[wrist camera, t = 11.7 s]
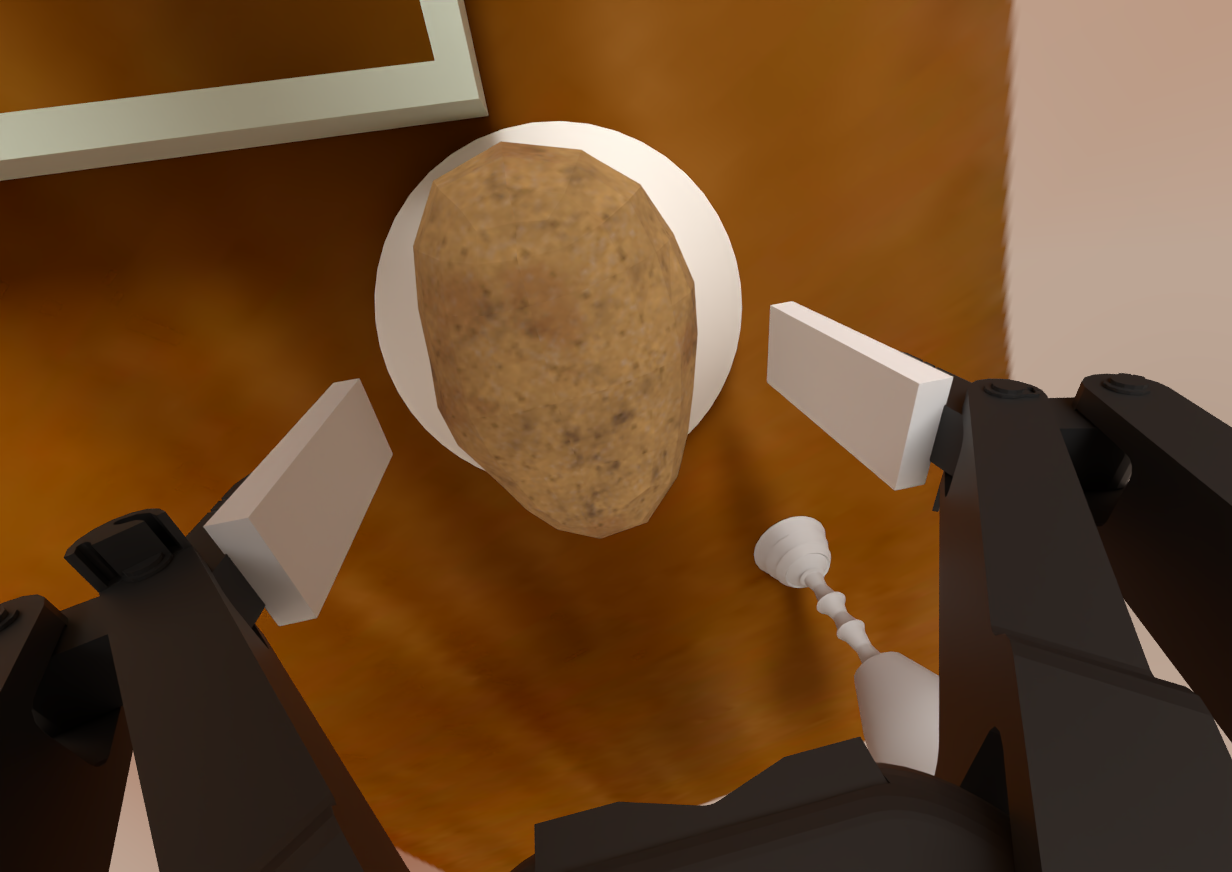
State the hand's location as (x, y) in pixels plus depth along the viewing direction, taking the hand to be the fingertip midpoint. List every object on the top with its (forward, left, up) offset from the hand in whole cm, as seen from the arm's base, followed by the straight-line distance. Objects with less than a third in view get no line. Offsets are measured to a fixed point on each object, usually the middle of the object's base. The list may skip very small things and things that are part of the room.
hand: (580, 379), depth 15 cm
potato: (0, 0, -6) cm, 6 cm away
